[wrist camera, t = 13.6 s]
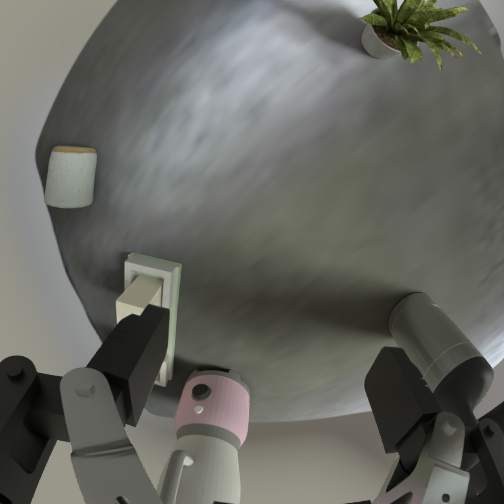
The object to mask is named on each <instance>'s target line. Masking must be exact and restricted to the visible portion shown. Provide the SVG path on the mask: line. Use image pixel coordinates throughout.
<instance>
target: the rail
mask: <svg viewBox="0 0 504 504" xmlns="http://www.w3.org/2000/svg"><path fill="white" fill-rule="evenodd" d="M181 269H182V263H177V262H173V261H168V260H164V259H160V258H155V257H151V256H147V255H142V254H138V253H134V252H131V253H130V254H129V255H128V259H127V260H126V261H125V290H126V289H127V288H128V287H129V286H130V285H131V284H132V282H133V281H134V280H135V279H136V278H137V277H138V276H139V275H140V274H141V275H145V276H149V277H153V278H157V279H162V280H164V284H163V299H162V307H164V308H168V309H169V310H170V321H169V339H168V348H167V353H166V356H165V359H164V361H163V364H162V366H161V368H160V371H159V373H158V375H157V378H156V380H155V382H154V384H156V385H160V386H163V387H166V385H167V382H168V380H171V379H172V376H173V365H174V347H175V333H176V320H177V308H178V297H179V287H180V278H181ZM152 388H153V387H152ZM151 390H152V389H151ZM149 395H150V394H149ZM148 397H149V396H148Z"/></svg>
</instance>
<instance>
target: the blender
mask: <svg viewBox="0 0 504 504" xmlns="http://www.w3.org/2000/svg"><path fill="white" fill-rule="evenodd" d="M249 403H250V390H249V388H248V386H247V385H246V384H245V383H244V382H243V381H242V380H241V379H240V375H239V374H238V373H237V372H235V371H233V370H229V371H228V373H226V372H222V371H215V370H206V371H200V372H199V370H198V369H196V370H194V371H193V372H192V373H191V374H190V376H189V378H188V379H187V380H186V382H185V385H184V389H183V393H182V396H181V399H180V402H179V405H178V408H177V412H176V415H175V421H174V425H175V431H176V435H177V442H176V444H175V447H174V449H173V451H172V452H171V454H170V456H169V458H168V460H167V462H166V464H165V466H164V469H163V471H162V474H161V477H160V480H159V484H158V487H157V491H156V492H157V493H158V495H159V497H160V499H161V500H162V502H163V504H213V502H214V501H218V502H225V503H233V504H240V475H239V465H238V457H237V452H238V450H239V448H240V446H241V445H242V443H243V442H244V440H245V438H246V435H247V431H248V419H249Z"/></svg>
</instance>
